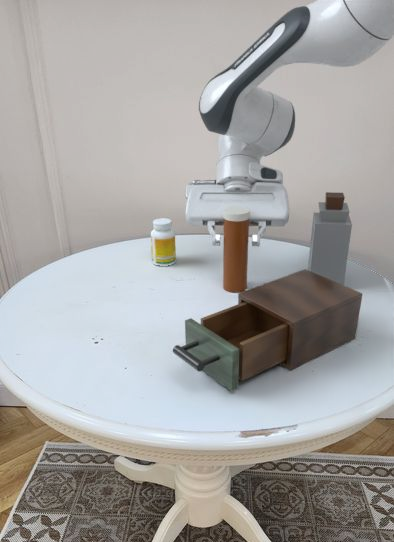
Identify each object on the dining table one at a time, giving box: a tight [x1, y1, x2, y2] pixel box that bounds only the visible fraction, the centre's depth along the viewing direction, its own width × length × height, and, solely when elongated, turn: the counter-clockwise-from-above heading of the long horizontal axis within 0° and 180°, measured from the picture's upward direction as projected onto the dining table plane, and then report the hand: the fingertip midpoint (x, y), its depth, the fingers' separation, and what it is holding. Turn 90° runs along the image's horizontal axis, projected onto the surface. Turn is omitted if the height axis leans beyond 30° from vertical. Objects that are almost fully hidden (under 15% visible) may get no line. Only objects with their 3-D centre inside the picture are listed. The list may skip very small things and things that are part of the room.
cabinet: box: [237, 268, 363, 372], centre depth 89 cm, size 16×13×9 cm
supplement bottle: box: [150, 217, 177, 267], centre depth 118 cm, size 5×5×10 cm
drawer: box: [172, 302, 290, 392], centre depth 82 cm, size 19×11×7 cm, turn 127°
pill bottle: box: [222, 206, 250, 293], centre depth 104 cm, size 5×5×16 cm
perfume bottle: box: [307, 191, 353, 286], centre depth 105 cm, size 7×7×18 cm
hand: (236, 245), depth 103 cm, fingers open, 6 cm apart
